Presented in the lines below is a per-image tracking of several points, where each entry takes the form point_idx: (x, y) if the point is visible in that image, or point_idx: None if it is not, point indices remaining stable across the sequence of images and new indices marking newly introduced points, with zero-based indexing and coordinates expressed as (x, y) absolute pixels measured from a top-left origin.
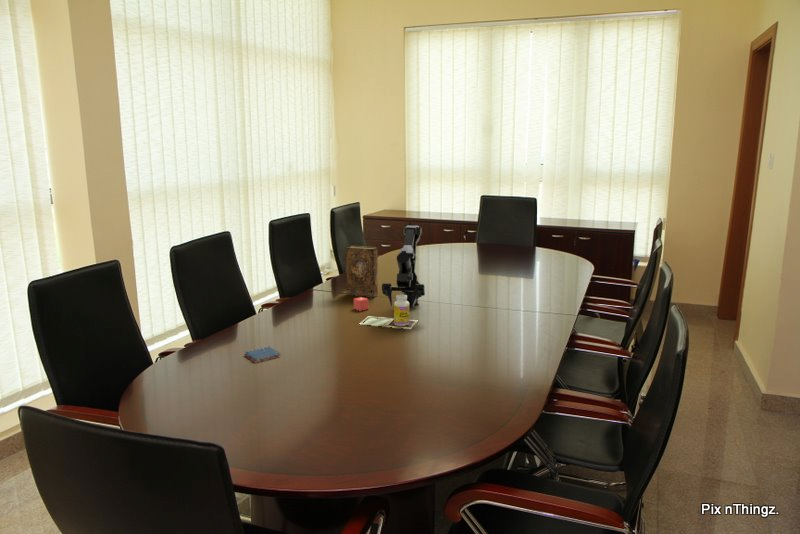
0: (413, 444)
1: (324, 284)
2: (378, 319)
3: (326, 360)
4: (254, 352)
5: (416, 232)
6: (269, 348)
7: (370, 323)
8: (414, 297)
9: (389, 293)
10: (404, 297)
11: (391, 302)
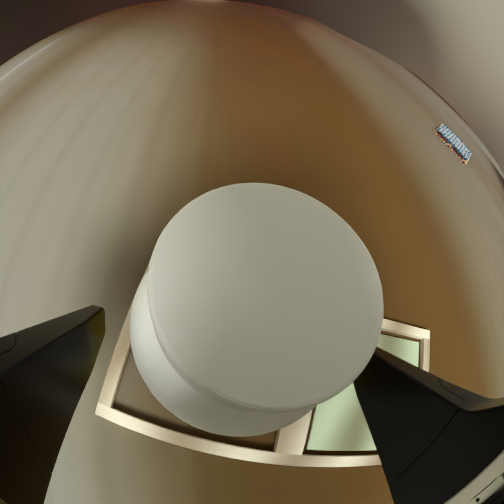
0: (217, 4)
1: None
2: (367, 433)
3: (365, 94)
4: (463, 146)
5: None
6: (463, 156)
7: (392, 352)
8: (15, 344)
9: (479, 404)
10: (213, 194)
11: (375, 353)
